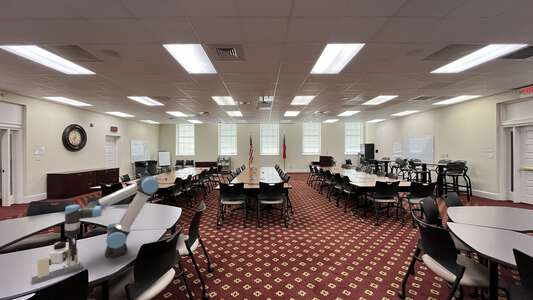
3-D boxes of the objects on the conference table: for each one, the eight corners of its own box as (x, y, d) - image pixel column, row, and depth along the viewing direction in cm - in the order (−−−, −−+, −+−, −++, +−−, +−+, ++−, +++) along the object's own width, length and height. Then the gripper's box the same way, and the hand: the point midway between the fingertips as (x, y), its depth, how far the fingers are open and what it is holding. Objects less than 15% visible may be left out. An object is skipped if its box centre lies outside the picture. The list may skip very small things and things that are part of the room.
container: (69, 258, 169) (69, 240, 169) (60, 263, 162) (60, 245, 161) (59, 258, 169) (58, 240, 169) (49, 263, 161) (49, 245, 161)
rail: (81, 265, 159) (81, 248, 158) (83, 269, 154) (83, 251, 154) (31, 280, 141) (31, 261, 141) (32, 284, 137) (31, 264, 137)
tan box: (76, 262, 156) (76, 247, 156) (77, 264, 153) (77, 249, 153) (64, 265, 151) (64, 250, 151) (65, 267, 149) (65, 252, 149)
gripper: (82, 230, 150) (82, 266, 150) (77, 224, 161) (77, 257, 161) (67, 233, 144) (66, 270, 144) (63, 227, 155) (62, 261, 156)
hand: (72, 263), depth 153 cm, fingers closed on tan box, 4 cm apart
